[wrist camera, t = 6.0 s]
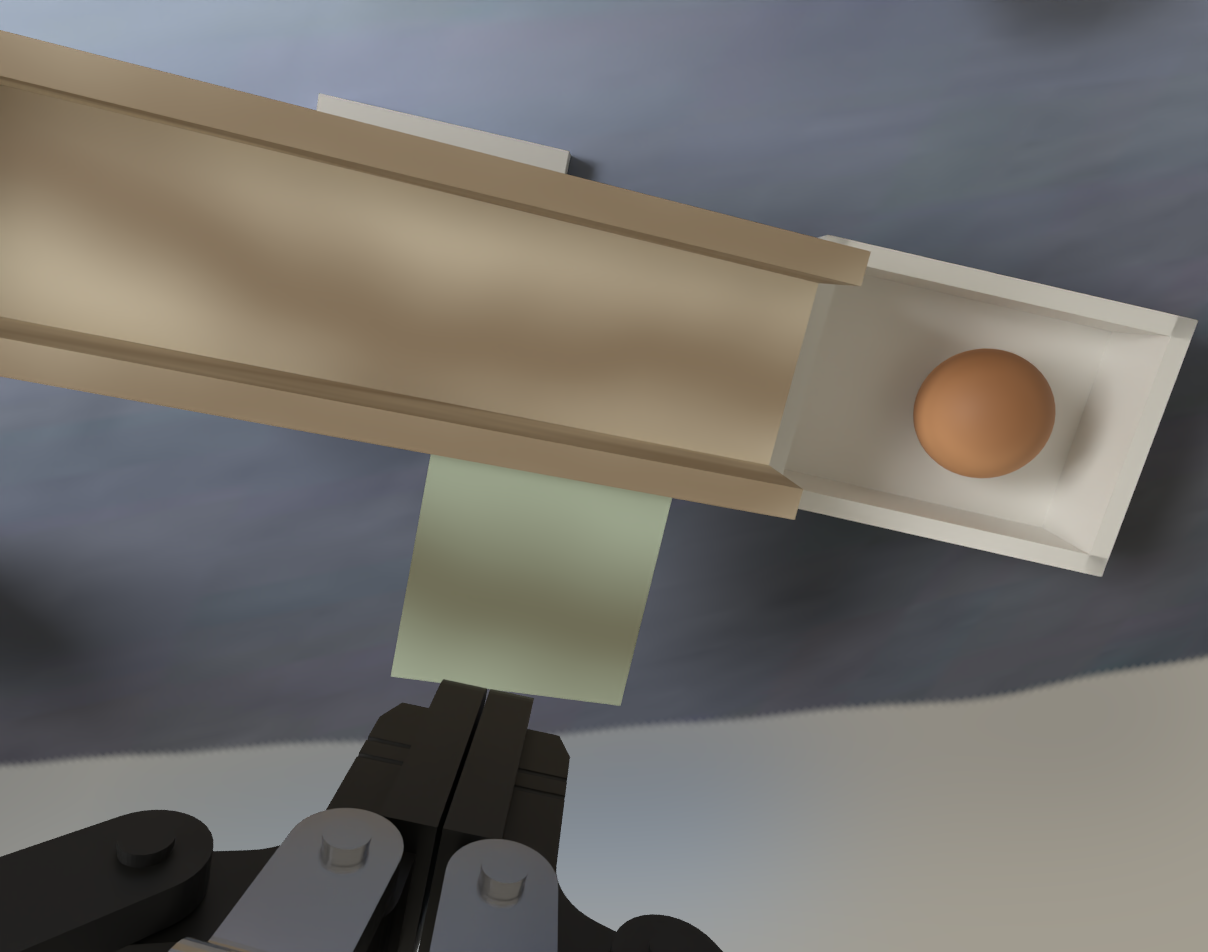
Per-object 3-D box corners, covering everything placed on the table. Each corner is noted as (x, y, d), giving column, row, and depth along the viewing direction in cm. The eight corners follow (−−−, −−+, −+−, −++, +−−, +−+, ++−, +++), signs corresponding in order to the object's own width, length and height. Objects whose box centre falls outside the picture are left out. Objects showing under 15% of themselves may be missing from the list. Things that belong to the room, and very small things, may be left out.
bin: (802, 242, 27) (828, 234, 24) (1127, 317, 27) (1198, 320, 24) (740, 474, 29) (756, 499, 25) (1045, 543, 29) (1101, 576, 26)
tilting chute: (-142, 22, 20) (-368, -64, 14) (785, 253, 24) (870, 251, 19) (-152, 519, 22) (-346, 599, 17) (684, 641, 27) (733, 733, 22)
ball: (1087, 366, 23) (1062, 365, 26) (937, 333, 24) (933, 336, 28) (1039, 503, 24) (1021, 483, 27) (896, 465, 25) (898, 451, 28)
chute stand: (327, 99, 27) (235, 39, 20) (570, 155, 27) (552, 112, 20) (286, 401, 29) (190, 431, 22) (511, 451, 29) (477, 495, 23)
